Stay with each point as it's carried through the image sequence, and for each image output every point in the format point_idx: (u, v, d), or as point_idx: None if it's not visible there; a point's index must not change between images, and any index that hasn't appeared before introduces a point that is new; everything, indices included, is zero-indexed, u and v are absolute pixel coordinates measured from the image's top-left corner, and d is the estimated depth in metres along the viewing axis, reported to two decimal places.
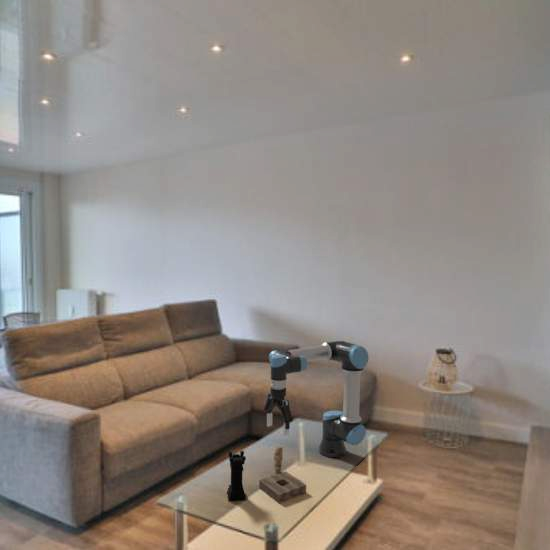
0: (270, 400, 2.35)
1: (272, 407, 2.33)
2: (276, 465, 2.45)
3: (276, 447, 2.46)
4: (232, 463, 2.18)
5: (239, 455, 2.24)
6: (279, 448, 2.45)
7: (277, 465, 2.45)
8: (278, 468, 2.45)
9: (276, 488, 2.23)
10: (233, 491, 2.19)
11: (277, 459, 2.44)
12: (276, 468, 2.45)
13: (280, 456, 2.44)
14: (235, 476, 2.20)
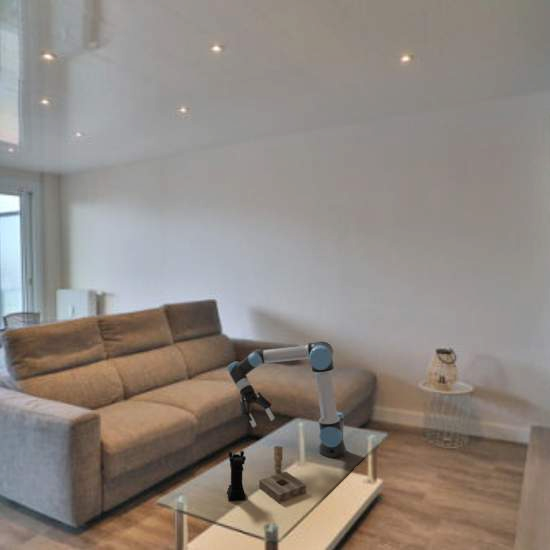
0: (260, 398, 2.63)
1: (261, 404, 2.60)
2: (276, 465, 2.45)
3: (276, 447, 2.46)
4: (232, 463, 2.18)
5: (239, 455, 2.24)
6: (279, 448, 2.45)
7: (277, 465, 2.45)
8: (278, 468, 2.45)
9: (276, 488, 2.23)
10: (233, 491, 2.19)
11: (277, 459, 2.44)
12: (276, 468, 2.45)
13: (280, 456, 2.44)
14: (235, 476, 2.20)
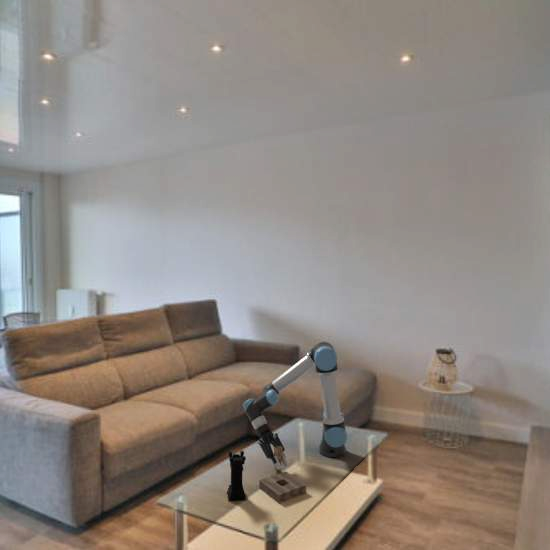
0: (276, 439, 2.54)
1: None
2: None
3: (276, 447, 2.46)
4: (232, 463, 2.18)
5: (239, 455, 2.24)
6: (279, 448, 2.45)
7: None
8: None
9: (276, 488, 2.23)
10: (233, 491, 2.19)
11: None
12: (276, 468, 2.45)
13: (280, 456, 2.44)
14: (235, 476, 2.20)
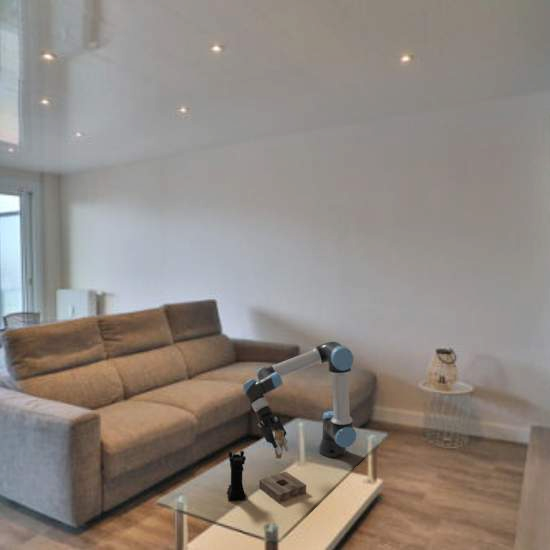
0: (277, 423, 2.39)
1: (276, 429, 2.36)
2: None
3: (277, 431, 2.32)
4: (232, 463, 2.18)
5: (239, 455, 2.24)
6: (280, 432, 2.31)
7: None
8: None
9: (276, 488, 2.23)
10: (233, 491, 2.19)
11: (278, 443, 2.30)
12: (277, 453, 2.31)
13: (281, 440, 2.30)
14: (235, 476, 2.20)
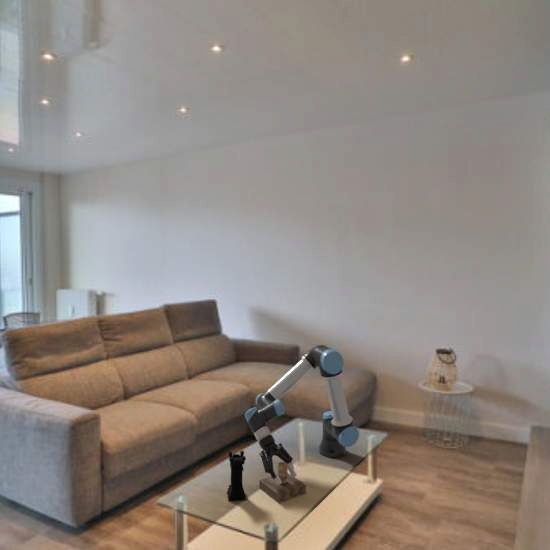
0: (281, 450, 2.36)
1: (281, 457, 2.33)
2: (281, 483, 2.27)
3: (280, 464, 2.28)
4: (232, 463, 2.18)
5: (239, 455, 2.24)
6: (284, 465, 2.27)
7: (282, 483, 2.27)
8: None
9: (276, 488, 2.23)
10: (233, 491, 2.19)
11: (282, 477, 2.26)
12: None
13: (285, 473, 2.26)
14: (235, 476, 2.20)
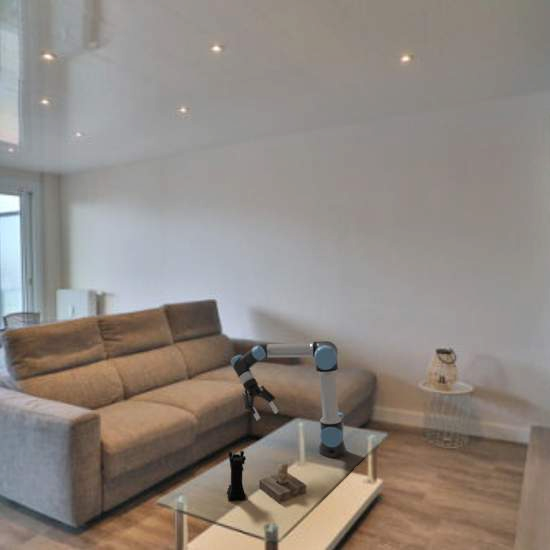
0: (264, 392, 2.60)
1: (264, 397, 2.58)
2: (281, 483, 2.27)
3: (281, 464, 2.28)
4: (232, 463, 2.18)
5: (239, 455, 2.24)
6: (284, 465, 2.27)
7: (282, 483, 2.27)
8: None
9: (276, 488, 2.23)
10: (233, 491, 2.19)
11: (282, 477, 2.26)
12: None
13: (285, 473, 2.26)
14: (235, 476, 2.20)
